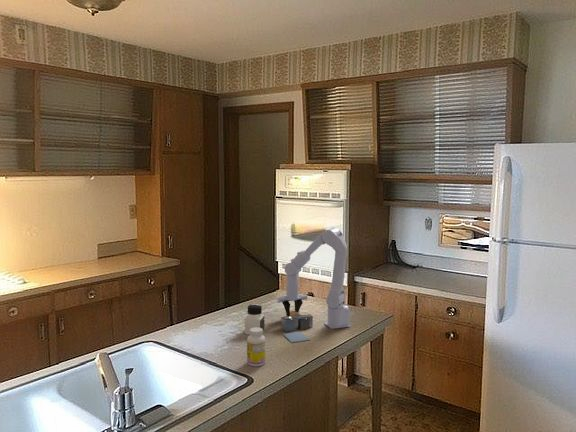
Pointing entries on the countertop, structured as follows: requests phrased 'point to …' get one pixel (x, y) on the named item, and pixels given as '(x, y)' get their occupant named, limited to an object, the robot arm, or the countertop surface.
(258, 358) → the supplement bottle
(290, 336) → the mat
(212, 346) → the countertop surface
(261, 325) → the medicine bottle
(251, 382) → the countertop surface
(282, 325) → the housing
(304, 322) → the plug
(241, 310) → the countertop surface
